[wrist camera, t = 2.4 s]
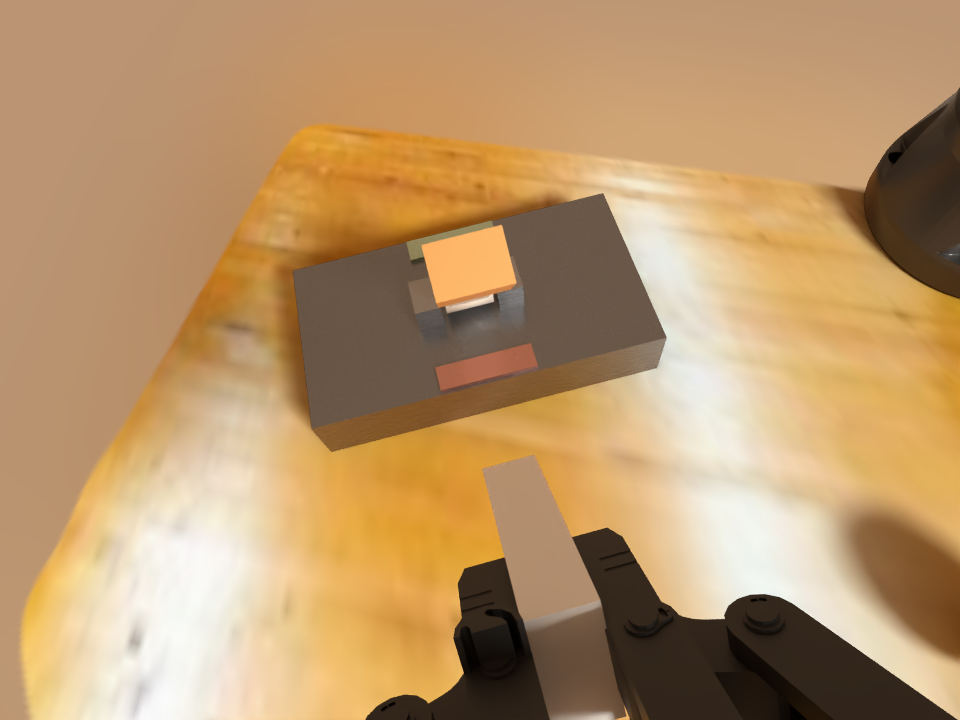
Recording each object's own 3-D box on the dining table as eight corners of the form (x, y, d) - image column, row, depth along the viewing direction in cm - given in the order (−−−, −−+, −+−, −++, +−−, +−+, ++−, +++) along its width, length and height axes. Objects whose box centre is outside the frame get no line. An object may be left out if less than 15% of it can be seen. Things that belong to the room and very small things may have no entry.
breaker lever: (487, 264, 42) (501, 224, 28) (497, 303, 42) (516, 282, 28) (433, 277, 42) (421, 244, 28) (443, 317, 42) (436, 303, 28)
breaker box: (599, 230, 49) (605, 172, 43) (657, 367, 43) (671, 320, 38) (311, 302, 48) (282, 252, 43) (331, 451, 42) (300, 415, 37)
